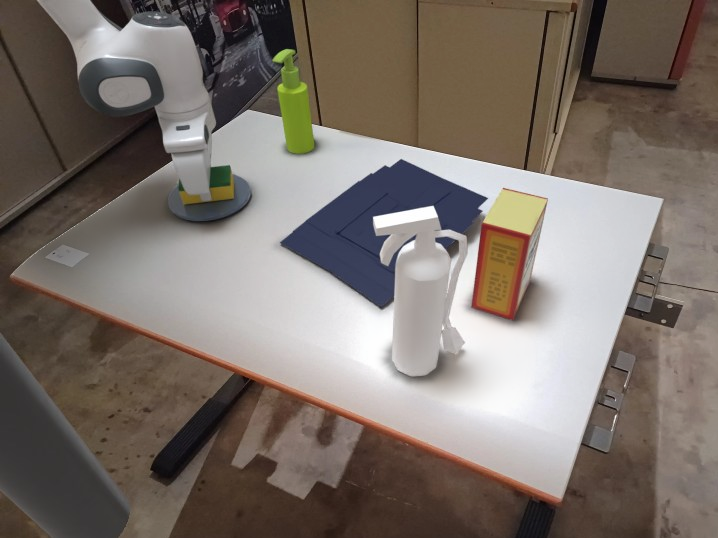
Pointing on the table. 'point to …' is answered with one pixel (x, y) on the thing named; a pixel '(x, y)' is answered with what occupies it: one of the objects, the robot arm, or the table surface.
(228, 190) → the sponge
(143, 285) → the table surface
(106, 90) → the robot arm
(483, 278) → the baking soda box
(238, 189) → the plate
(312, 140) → the soap dispenser
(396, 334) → the fire extinguisher
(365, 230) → the folded navy cloth
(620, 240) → the table surface
